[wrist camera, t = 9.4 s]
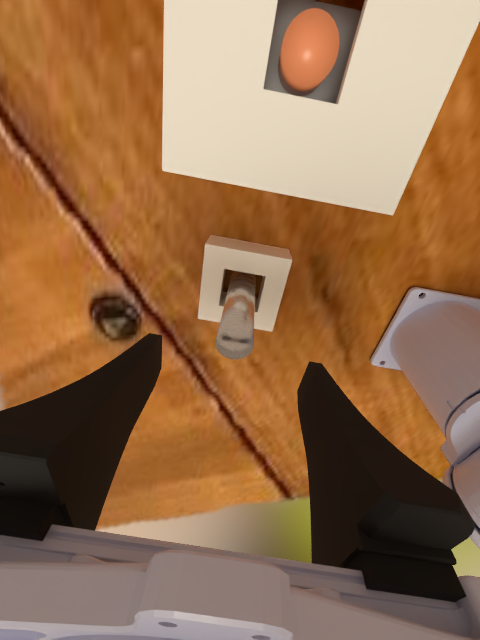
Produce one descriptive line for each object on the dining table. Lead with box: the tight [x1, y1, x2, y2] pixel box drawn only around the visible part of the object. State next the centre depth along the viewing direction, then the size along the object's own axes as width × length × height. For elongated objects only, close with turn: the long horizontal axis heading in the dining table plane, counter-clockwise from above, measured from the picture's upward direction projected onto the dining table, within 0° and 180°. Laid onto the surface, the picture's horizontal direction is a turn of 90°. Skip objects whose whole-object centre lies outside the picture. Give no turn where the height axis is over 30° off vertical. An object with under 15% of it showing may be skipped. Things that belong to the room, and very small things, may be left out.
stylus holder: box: [198, 235, 292, 332], centre depth 21 cm, size 6×6×2 cm
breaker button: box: [264, 0, 362, 104], centre depth 14 cm, size 5×5×3 cm
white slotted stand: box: [162, 0, 480, 215], centre depth 13 cm, size 13×12×4 cm
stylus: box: [216, 271, 256, 359], centre depth 18 cm, size 2×2×9 cm
